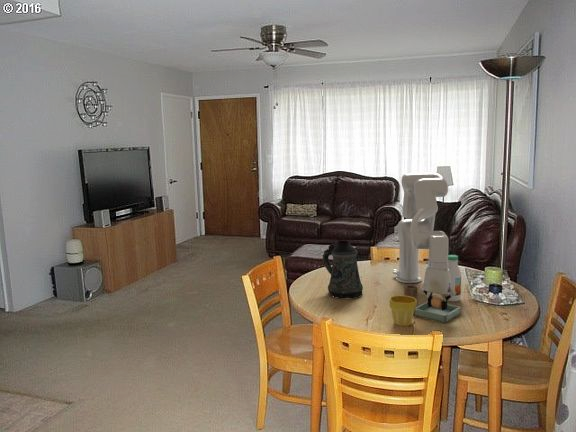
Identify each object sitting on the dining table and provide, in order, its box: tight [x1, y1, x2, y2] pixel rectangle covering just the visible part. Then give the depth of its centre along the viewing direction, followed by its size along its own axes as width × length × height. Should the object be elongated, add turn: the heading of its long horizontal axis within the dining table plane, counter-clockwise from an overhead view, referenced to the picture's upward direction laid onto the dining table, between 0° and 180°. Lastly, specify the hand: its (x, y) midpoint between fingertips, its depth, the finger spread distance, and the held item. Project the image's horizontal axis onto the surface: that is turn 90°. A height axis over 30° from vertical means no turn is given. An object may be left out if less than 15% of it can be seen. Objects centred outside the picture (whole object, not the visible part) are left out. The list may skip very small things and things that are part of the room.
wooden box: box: [403, 284, 418, 301], centre depth 213 cm, size 4×4×7 cm
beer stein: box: [322, 240, 364, 299], centre depth 226 cm, size 16×19×25 cm
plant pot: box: [388, 294, 418, 327], centre depth 188 cm, size 10×10×10 cm
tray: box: [413, 300, 462, 324], centre depth 197 cm, size 14×14×3 cm
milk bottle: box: [447, 254, 462, 302], centre depth 214 cm, size 8×8×20 cm
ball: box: [431, 295, 443, 308], centre depth 196 cm, size 5×5×5 cm
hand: (437, 307), depth 197 cm, fingers open, 5 cm apart
